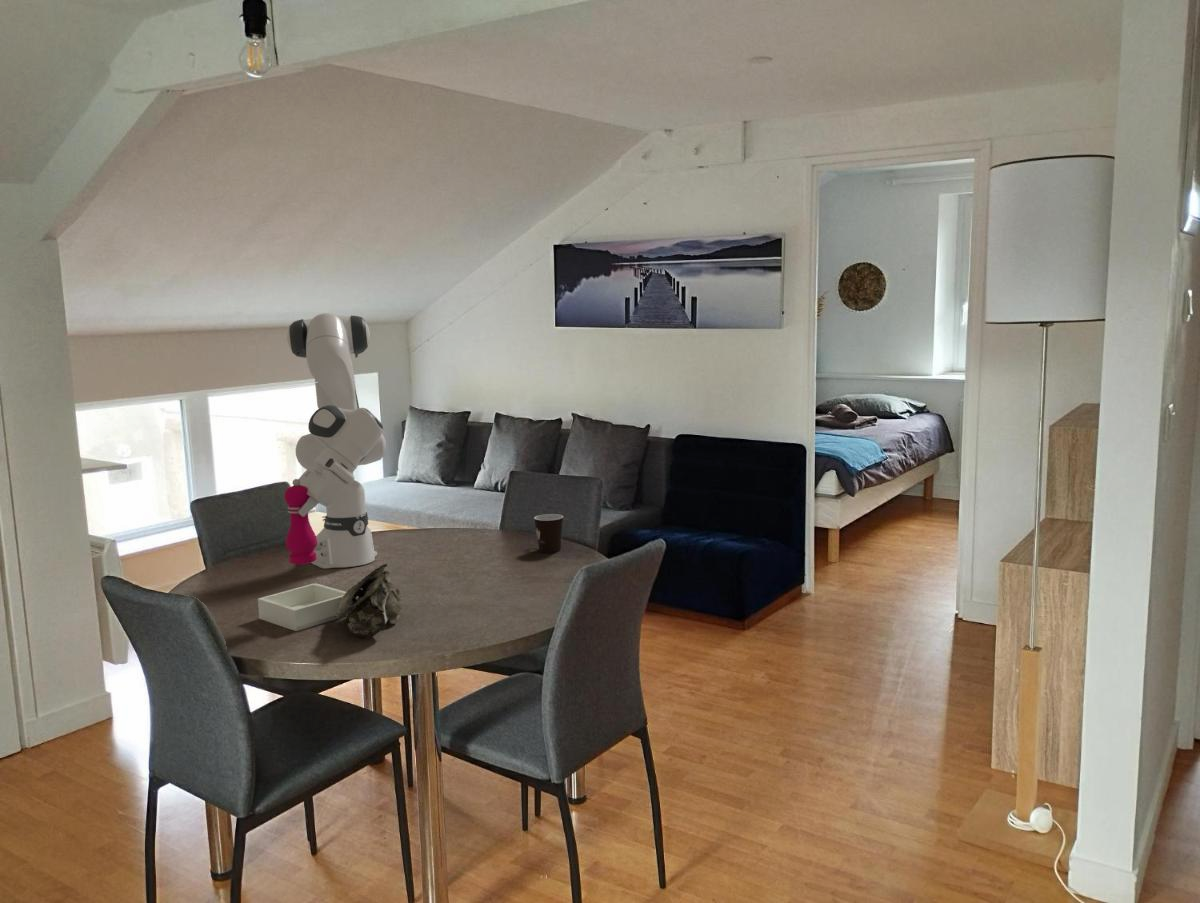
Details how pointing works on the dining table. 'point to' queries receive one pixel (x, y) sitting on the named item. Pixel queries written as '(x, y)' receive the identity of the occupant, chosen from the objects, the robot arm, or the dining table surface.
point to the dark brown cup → (549, 532)
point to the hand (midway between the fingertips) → (296, 512)
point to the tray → (301, 606)
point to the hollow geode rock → (371, 604)
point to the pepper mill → (299, 527)
